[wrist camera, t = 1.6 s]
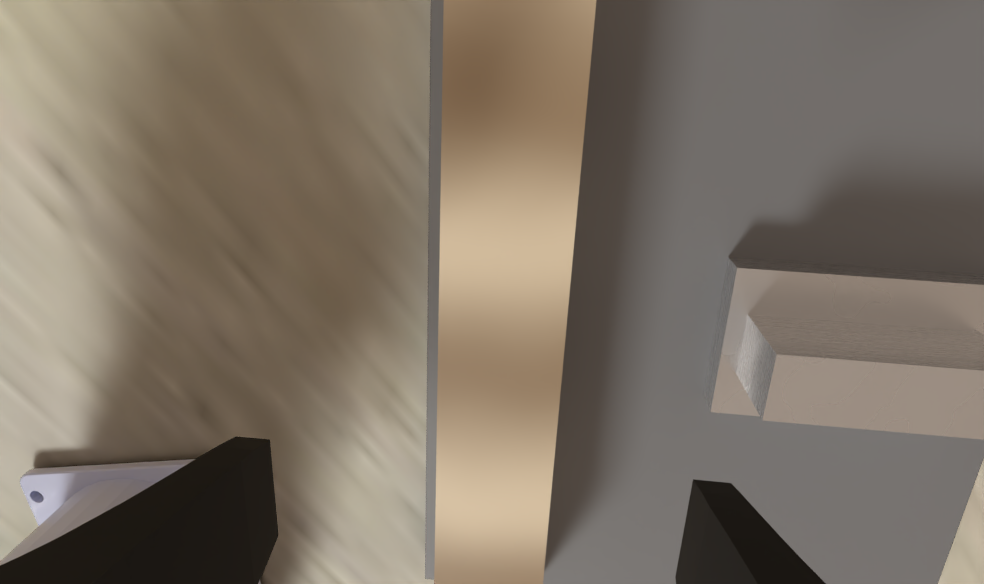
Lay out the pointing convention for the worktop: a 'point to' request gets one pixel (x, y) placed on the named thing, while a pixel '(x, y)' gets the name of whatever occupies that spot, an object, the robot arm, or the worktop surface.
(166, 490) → the robot arm
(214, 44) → the worktop surface
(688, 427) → the charcoal board
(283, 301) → the worktop surface
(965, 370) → the steel ridge
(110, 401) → the worktop surface
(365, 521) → the worktop surface
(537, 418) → the maple batten
